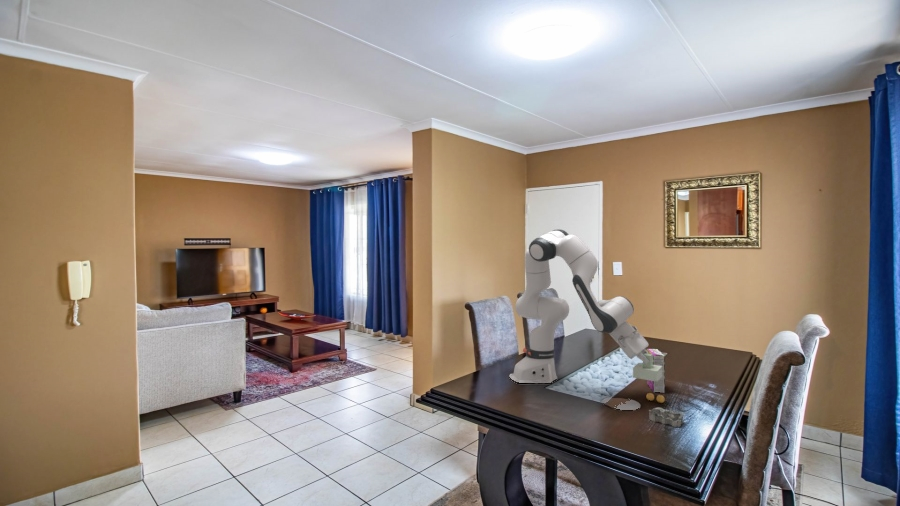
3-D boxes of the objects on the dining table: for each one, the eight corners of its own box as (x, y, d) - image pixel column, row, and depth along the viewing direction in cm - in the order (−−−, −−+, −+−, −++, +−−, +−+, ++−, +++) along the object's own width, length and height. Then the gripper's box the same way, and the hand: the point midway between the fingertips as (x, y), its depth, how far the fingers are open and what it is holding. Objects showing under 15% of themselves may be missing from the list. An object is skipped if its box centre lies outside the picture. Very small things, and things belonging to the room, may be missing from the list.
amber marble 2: (659, 404, 173) (659, 396, 173) (654, 401, 176) (654, 394, 176) (666, 403, 173) (666, 396, 173) (661, 401, 176) (661, 393, 176)
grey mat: (614, 412, 165) (614, 410, 165) (596, 399, 179) (596, 398, 179) (648, 409, 167) (648, 408, 167) (627, 397, 181) (627, 396, 181)
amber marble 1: (649, 402, 175) (649, 394, 175) (644, 399, 178) (644, 392, 178) (656, 401, 176) (656, 394, 176) (651, 399, 179) (651, 391, 179)
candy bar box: (646, 384, 197) (646, 348, 197) (658, 385, 196) (658, 348, 196) (652, 392, 186) (652, 354, 186) (665, 393, 185) (665, 355, 185)
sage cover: (632, 377, 175) (632, 355, 175) (638, 372, 182) (638, 350, 182) (657, 381, 170) (657, 358, 170) (662, 375, 177) (662, 353, 177)
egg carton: (646, 420, 157) (646, 409, 157) (654, 414, 163) (654, 404, 163) (678, 429, 150) (678, 417, 150) (685, 422, 155) (685, 411, 155)
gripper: (622, 333, 172) (648, 362, 166) (636, 325, 188) (660, 351, 182) (610, 343, 174) (636, 372, 169) (625, 334, 191) (649, 360, 185)
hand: (649, 361), depth 176 cm, fingers closed on sage cover, 3 cm apart
